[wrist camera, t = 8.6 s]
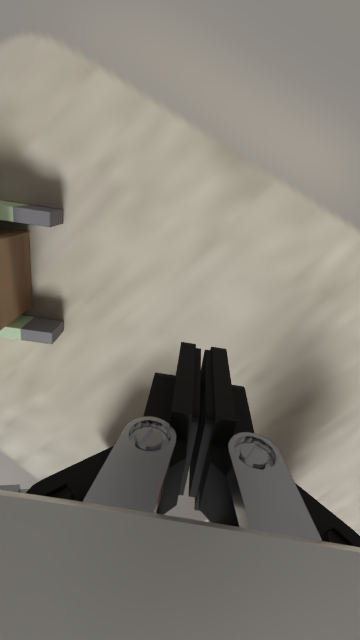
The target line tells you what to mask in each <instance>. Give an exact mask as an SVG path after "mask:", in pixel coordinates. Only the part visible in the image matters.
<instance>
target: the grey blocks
mask: <svg viewBox="0 0 360 640" xmlns="http://www.w3.org/2000/svg"><path fill="white" fill-rule="evenodd" d="M0 220H5V221H11V222H18V223H25V224H32V225H38V226H45V227H52V226H56V225H59V224H63V210H61V209H54V208H48V207H41V206H34V205H28V204H21V203H14V202H8V201H1V200H0ZM62 332H63V321H60V320H53V319H46V318H39V317H31V316H24V315H20V316H19V317H17V318H16V319H15V320H13V321H12V322H11V323H10V324H8V325H7V326H6V327H4V328H3V329H2V330H0V337H2V338H10V339H17V340H25V341H32V342H40V343H47V344H53V343H54V341H55V340H56V339H57V338H58V337H59V336H60V334H61V333H62Z"/></svg>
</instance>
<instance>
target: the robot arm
mask: <svg viewBox="0 0 360 640" xmlns="http://www.w3.org/2000/svg"><path fill="white" fill-rule="evenodd" d="M189 466H190V473H189V497H194V498H195V506H194V510H197V511H201V512H202V513H203V514H204V515H205V516H206V517H207V519H208V522H205V521H199V520H193V519H187V518H181V517H175V516H169V515H164V514H165V513H167V512H168V511H169V510H171V509H172V508H174V507H175V506H176V505H177V501H178V496H179V495H182V496H183V495H184V490H185V485H186V481H187V476H188V471H189ZM0 640H360V536H359V535H358V534H357V533H356V532H355V531H354V530H353V529H351V528H350V527H349V526H348V525H346V524H345V523H344V522H343V521H341V520H340V519H339V518H338V517H336V516H335V515H334V514H333V513H332V512H330V511H329V510H328V509H327V508H325V507H324V506H323V505H322V504H320V503H319V502H318V501H317V500H315V499H314V498H313V497H312V496H311V495H309V494H308V493H307V492H306V491H304V490H303V489H302V488H301V487H299V486H298V485H297V484H296V483H295V482H294V480H293V478H292V476H291V474H290V472H289V470H288V467H287V465H286V463H285V461H284V459H283V457H282V455H281V453H280V451H279V450H278V448H277V447H276V446H275V445H274V444H273V443H272V442H271V441H270V440H268V439H266V438H265V437H263V436H261V435H258V434H255V433H254V430H253V425H252V420H251V416H250V411H249V406H248V402H247V397H246V392H245V388H244V387H242V386H236V385H231V378H230V371H229V365H228V358H227V351H226V349H222V348H216V347H211V349H210V350H205V352H204V357H203V362H202V367H201V349H198V348H196V344H191V343H184V342H181V347H180V354H179V360H178V366H177V372H176V376H174V375H167V374H161V373H155V375H154V379H153V383H152V386H151V390H150V394H149V398H148V401H147V405H146V409H145V413H144V417H140V418H136V419H134V420H132V421H131V422H129V423H128V424H127V425H126V426H125V428H124V429H123V431H122V433H121V435H120V436H119V438H118V440H117V442H116V443H115V445H114V446H112V447H110V448H108V449H106V450H104V451H102V452H100V453H98V454H96V455H93V456H91V457H89V458H87V459H85V460H83V461H81V462H79V463H77V464H74V465H72V466H70V467H68V468H66V469H64V470H62V471H60V472H57V473H55V474H53V475H51V476H49V477H47V478H45V479H43V480H41V481H39V482H38V483H36V484H34V485H33V486H32V487H31V488H30V489H20V485H2V486H0Z"/></svg>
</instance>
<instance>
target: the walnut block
mask: <svg viewBox="0 0 360 640" xmlns="http://www.w3.org/2000/svg"><path fill="white" fill-rule="evenodd" d="M30 307H32V286H31V263H30V241H29V232H27V231H21V230H14V229H7V228H0V330H2V329H3V328H4V327H6V326H7V325H8V324H10V323H11V322H12V321H13V320H15V319H16V318H17V317H19V316H20V315H21V314H23V313H24V312H25V311H27V310H28V309H29V308H30Z"/></svg>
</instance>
